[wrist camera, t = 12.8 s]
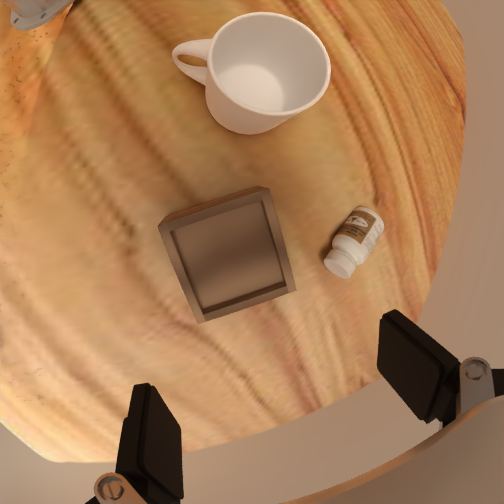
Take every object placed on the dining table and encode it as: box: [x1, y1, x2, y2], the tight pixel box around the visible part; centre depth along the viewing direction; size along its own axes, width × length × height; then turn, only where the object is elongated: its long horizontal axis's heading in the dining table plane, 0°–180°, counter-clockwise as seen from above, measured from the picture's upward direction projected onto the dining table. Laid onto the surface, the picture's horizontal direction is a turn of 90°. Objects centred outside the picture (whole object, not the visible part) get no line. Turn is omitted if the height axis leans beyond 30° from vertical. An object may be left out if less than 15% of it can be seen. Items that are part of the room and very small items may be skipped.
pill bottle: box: [324, 207, 384, 279], centre depth 30 cm, size 4×4×8 cm
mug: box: [172, 12, 331, 135], centre depth 20 cm, size 9×12×11 cm
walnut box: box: [158, 186, 296, 324], centre depth 27 cm, size 10×10×5 cm
